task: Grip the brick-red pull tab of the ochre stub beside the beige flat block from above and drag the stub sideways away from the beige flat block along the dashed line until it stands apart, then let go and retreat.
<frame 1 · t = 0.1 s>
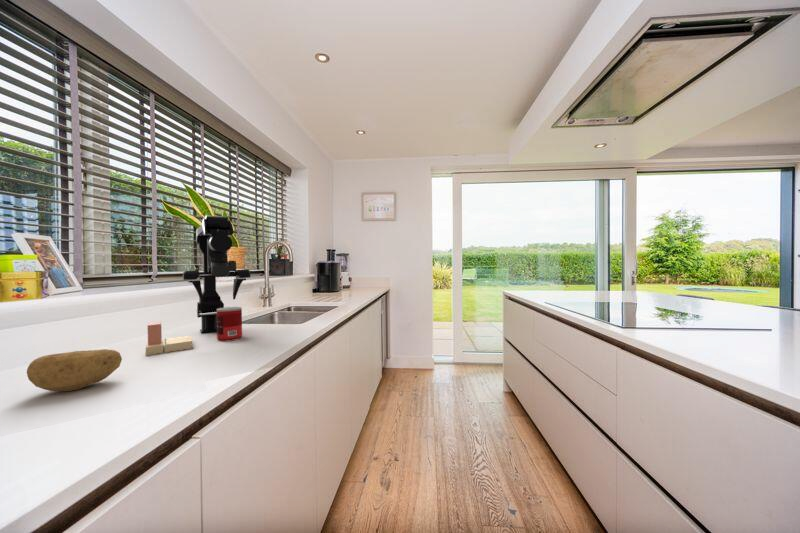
hand: (218, 300, 99), 15 cm above the worktop, tool pointing down, fingers open, 9 cm apart
canned food: (230, 339, 107), on the worktop
stub: (154, 337, 93), point 4 cm above the worktop, slide at 0.0 cm
potato: (78, 388, 64), on the worktop
beige flat block: (178, 347, 96), on the worktop
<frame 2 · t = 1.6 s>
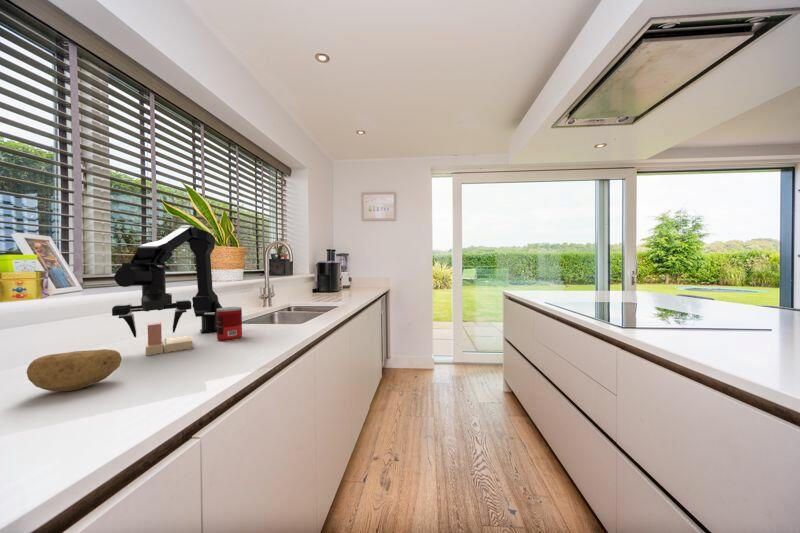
hand: (155, 334, 93), 5 cm above the worktop, tool pointing down, fingers open, 9 cm apart
nothing on the worktop moved.
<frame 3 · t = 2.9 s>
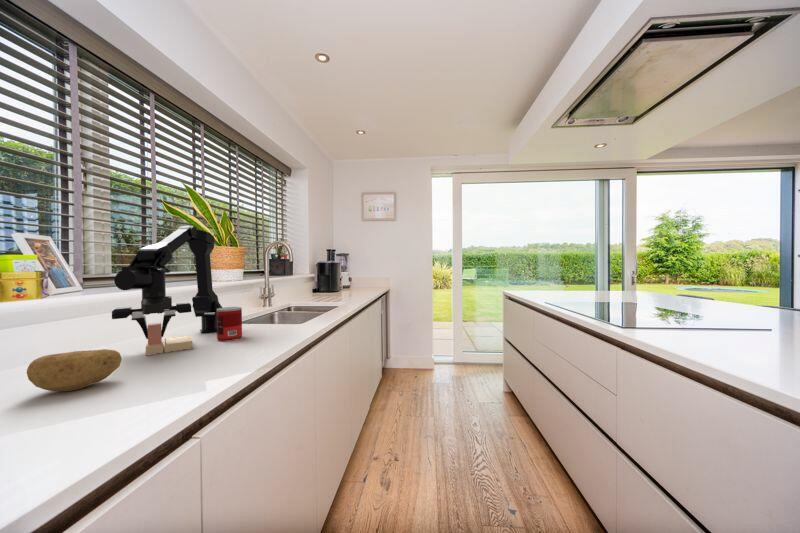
hand: (154, 337, 93), 4 cm above the worktop, tool pointing down, fingers closed on stub, 3 cm apart
stub: (154, 337, 93), point 4 cm above the worktop, slide at 0.0 cm, touching gripper
everything else where it was.
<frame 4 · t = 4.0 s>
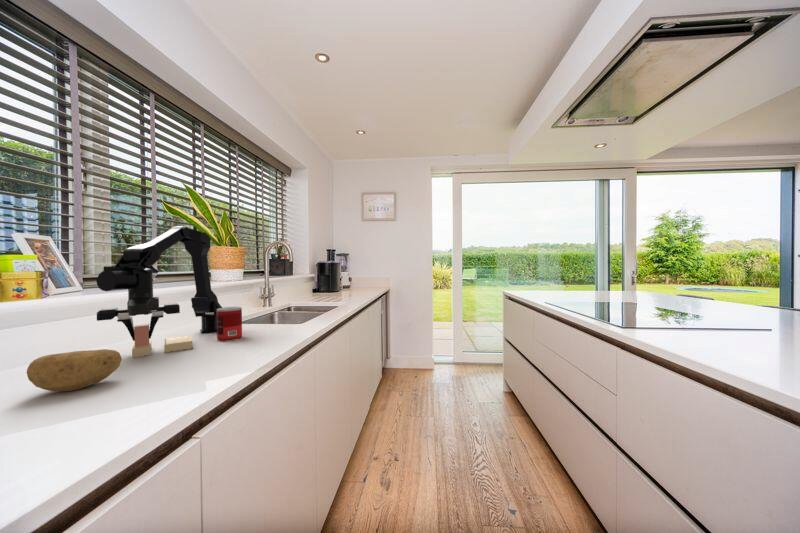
hand: (142, 339, 91), 4 cm above the worktop, tool pointing down, fingers closed on stub, 3 cm apart
stub: (142, 338, 91), point 4 cm above the worktop, slide at 3.0 cm, touching gripper
everything else where it was.
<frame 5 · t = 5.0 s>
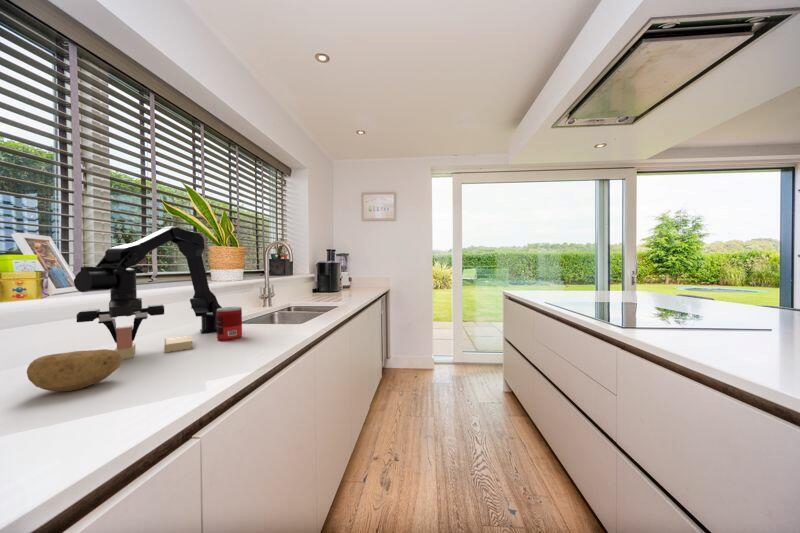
hand: (124, 341, 89), 4 cm above the worktop, tool pointing down, fingers closed on stub, 3 cm apart
stub: (124, 341, 89), point 4 cm above the worktop, slide at 6.9 cm, touching gripper
everything else where it was.
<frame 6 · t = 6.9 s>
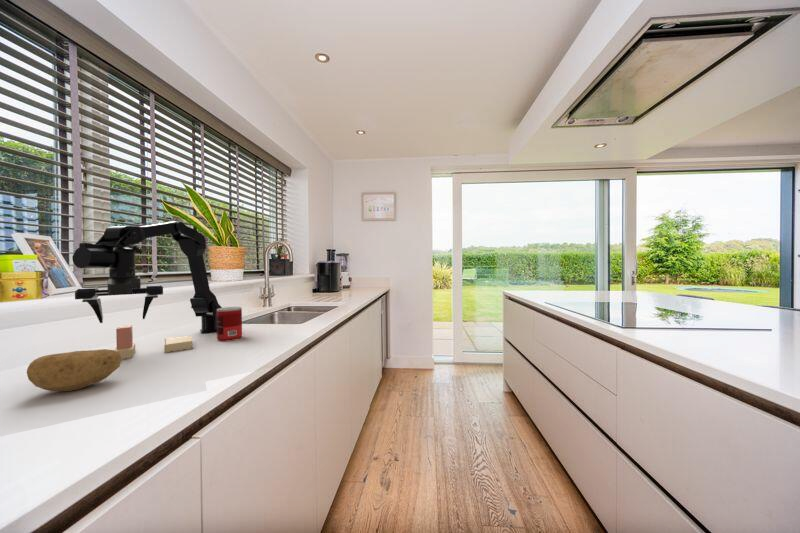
hand: (123, 320, 88), 10 cm above the worktop, tool pointing down, fingers open, 9 cm apart
stub: (124, 341, 89), point 4 cm above the worktop, slide at 6.9 cm
everything else where it was.
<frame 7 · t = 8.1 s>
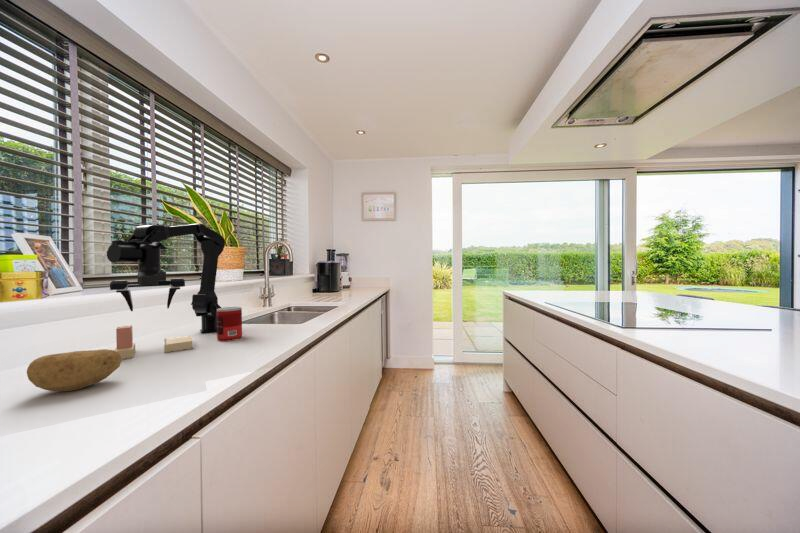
hand: (150, 309, 99), 12 cm above the worktop, tool pointing down, fingers open, 9 cm apart
nothing on the worktop moved.
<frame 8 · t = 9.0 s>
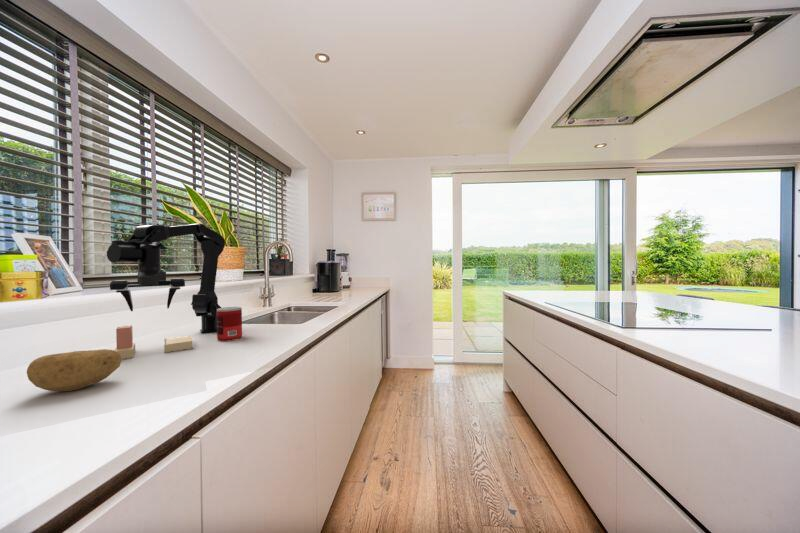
hand: (150, 309, 99), 12 cm above the worktop, tool pointing down, fingers open, 9 cm apart
nothing on the worktop moved.
at the end: stub slide at 6.9 cm; the gripper is holding nothing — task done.
